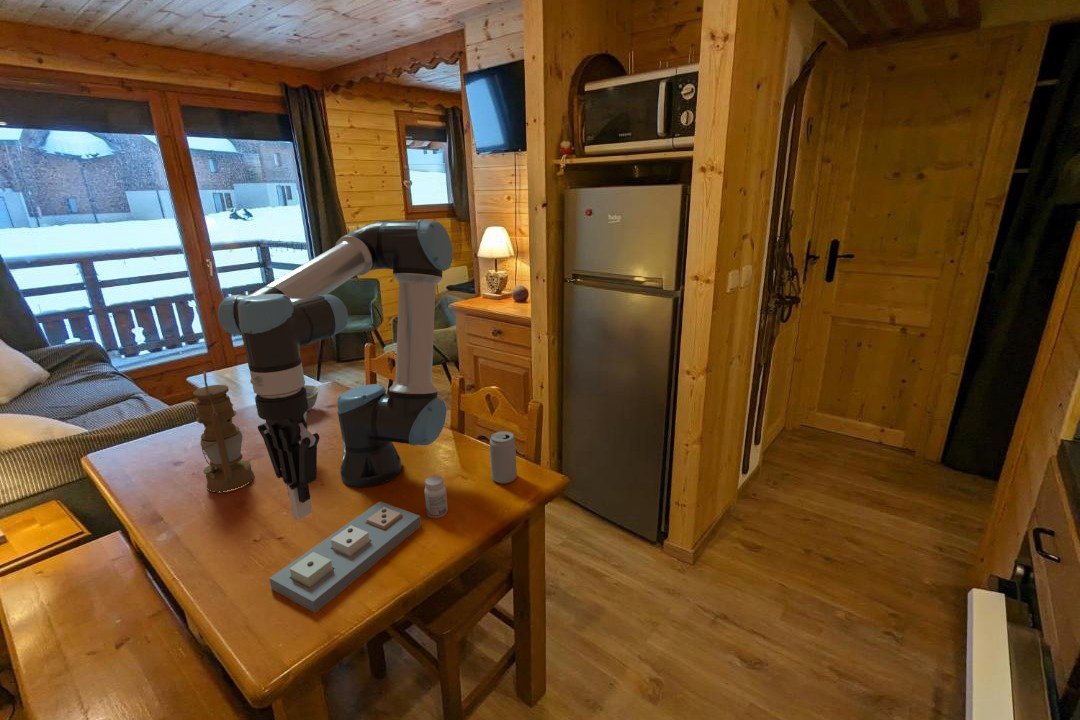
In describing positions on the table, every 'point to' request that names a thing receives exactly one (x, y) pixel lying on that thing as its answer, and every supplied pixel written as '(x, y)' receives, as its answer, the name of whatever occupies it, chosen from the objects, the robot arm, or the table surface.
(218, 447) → the lantern
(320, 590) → the key board
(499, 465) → the beverage can
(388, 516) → the key three
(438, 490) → the pill bottle
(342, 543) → the key two
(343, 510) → the table surface
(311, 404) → the bowl
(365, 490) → the table surface
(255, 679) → the table surface
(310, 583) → the key one
